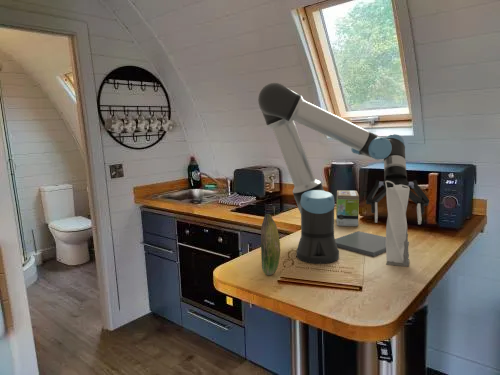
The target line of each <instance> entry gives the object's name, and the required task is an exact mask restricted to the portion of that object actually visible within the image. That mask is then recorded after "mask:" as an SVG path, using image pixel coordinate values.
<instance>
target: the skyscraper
mask: <svg viewBox="0 0 500 375" xmlns="http://www.w3.org/2000/svg"><path fill="white" fill-rule="evenodd" d="M386 182H389V183H392V184H393V187H390V188H387V184H386ZM385 184H386V195H385V197H386V208H387V219H386V226H385V237H386V252H385V253H386V256H385V257H386V263H385V265H388V266H396V267H406V268H407V267H408V268H409V267H410V254H409V247H410V241H409V238H408V237H409V234H408V223H407V208H408V204H409V199H410V198H409V191H410V190H411V189H410V188H411V187H410V186H406V185H401V184H399V185H395V184H394V183H393V182H391V181H385ZM402 186H404V187H408V188H404V187H402Z"/></svg>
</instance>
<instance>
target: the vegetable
mask: <svg viewBox="0 0 500 375" xmlns="http://www.w3.org/2000/svg"><path fill="white" fill-rule="evenodd" d="M280 241H281V240H280V235H279V231H278V227H277V223H276V222H275V220H274V218H273V216H272V215H271V214H268V213H266V214H265V215H264V216H263V221H262V223H261V228H260V249H261V250H260V254H261V255H260V256H261V270H262V272H263V273H264V274H265V275H267V276H272V275H273V274H275V273H276V271H277V269H278V267H279V263H280V257H281V242H280Z"/></svg>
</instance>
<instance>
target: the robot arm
mask: <svg viewBox="0 0 500 375" xmlns="http://www.w3.org/2000/svg"><path fill="white" fill-rule="evenodd" d="M257 100H258V101H257V102H258V106H259V109H260V111H261V114H262V116H263V118H264V121H265V124H266V126H267V127H268V128H270V129H272V131H273V133H274V136H275V139H276V141H277V144H278V147H279V149H280V152H281V154H282V156H283V160H284V162H285V165H286V168H287V170H288V174H289V176H290V178H291V180H292V181H291V182H292V184H293V186H294V187H293V189H292V194H293V197H294V200H295V202H296V205H297V209H298V211H299V214H300V228H301V229H300V230H301V231H300V233H301V234H300V235H301V236H300V239H299V242H298V245H297V248H296V258H297V259H298V260H300V261H301V262H305V263H309V264H329V263H335V262H336V261H338V260H339V258H340V251H339V247H337V244H336V241H335V239H336V238H335V206H336V202H335V201H336V200H335V196H334V194H332V192H329V191H326V190H325V189H324V187H323V183H322V182H321V180H319V179H316V177H315V173H314V170H313V169H312V168H313V167H312V166H311V163H310V160H309V157H308V155H307V152H306V150H305V147H304V145H303V142H302V138H301V137H300V133H299V131H298V128H297V125H296V123H298V124H301V125H303V126H304V127H307V128H309V129H311V130H314V131H315V132H318V133H319V134H321V135H324V136H326V137H329V138H330V139H332V140H333V141H336V142H339V143H341V144H343V145H345V146H347V147H349V148H350V149H351V152H352V154H356V155H361V156H366V157H369V158H372V159H374V160H377V161H378V160H383V169H384V170H383V171H384V172H383V173H384V174H383V176H384V180H383V181H380V180H379V179H375V183H374V186H373V187H372V189H371V190H370V192H369V193H368V195H367V197H366V199H365V204H366V205H370V207H371V209H370V210H371V213H372V214H374V223H377V224H378V218H379V217H378V216H379V214H378V213H379V212H378V203H380V201H381V200H382V199H383V198H384V197H386V184H387V188H390V187H393V184H392V183H389V182H386V184H385V181H391V182H393V183H394V184H395V185H399V184H401V185H406V186H408V187H410V188H411V189H412V190H411V189H410V191H409V198H408V199H410V200H411V201H412V202H413V203H414V204H416V215H417V225H421V224H422V215H425V214H424V213H425V207H428V206H429V204H430V199H429V198H428V196H427V195H426V194H425V192H424V191H423V190H422V189H421V187H420V186H419V184H418V181H417V179H414V180H413V181H408V176H407V174H408V173H407V162H406V145H405V141H404V140H405V139H404V138H403V137H402V136H401V135H399V134H388V135H386V136H380V135H377V134H376V133H373V132H371V131H369V130H367V129H365V128H362V127H361V126H358V125H356V124H355V123H352V122H350V121H349V120H346V119H344V118H342V117H340V116H338V115H336V114H333V113H332V112H329V111H327V110H325V109H323V108H321V107H319V106H317V105H315V104H313V103H311V102H308V101H306V100H305V99H304V98H303V96H302V95H301V94H299V93H297V92H295V91H293V90H291V89H290V88H289V87H287V86H286V85H284V84H282V83H278V82H272V83H267V84H265V86H263V87H262V89H260V91H259V93H258V99H257ZM295 122H296V123H295ZM381 187H383V189H382V190H381V191H380V192H379V193H378V190H379V188H381ZM402 187H404V186H402ZM408 187H404V188H408ZM413 191H414V192H415V193H414V192H413ZM377 193H378V194H377ZM376 194H377V195H376Z"/></svg>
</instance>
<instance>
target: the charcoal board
mask: <svg viewBox="0 0 500 375" xmlns="http://www.w3.org/2000/svg"><path fill="white" fill-rule="evenodd" d="M335 241H336V244H337V248H338V249H339V248H341V249H343V250H346V251H347V250H348V251H351V252H355V253H359V254H361V255H367V256H370V257H376V256H378V255H381V254H383V253H386V236H383V235H378V234H374V233H369V232H364V231H360V230H358V231H355V232H352V233H349V234H346V235H343V236H340V237H336V238H335Z"/></svg>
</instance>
